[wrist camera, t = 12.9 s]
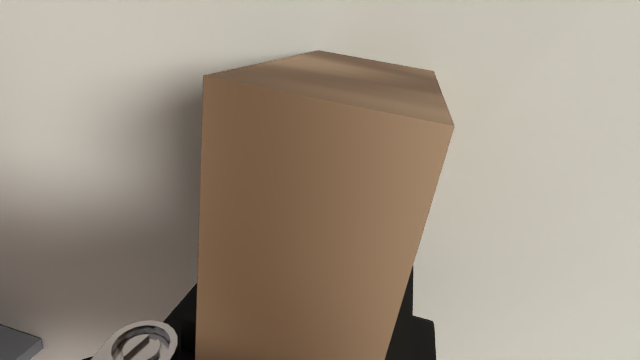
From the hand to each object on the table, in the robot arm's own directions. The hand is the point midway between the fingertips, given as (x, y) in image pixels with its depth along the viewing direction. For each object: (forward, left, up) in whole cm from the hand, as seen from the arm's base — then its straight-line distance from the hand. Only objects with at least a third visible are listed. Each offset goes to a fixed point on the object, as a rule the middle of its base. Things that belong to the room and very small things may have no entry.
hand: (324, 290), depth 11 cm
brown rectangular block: (0, 0, -2) cm, 2 cm away
